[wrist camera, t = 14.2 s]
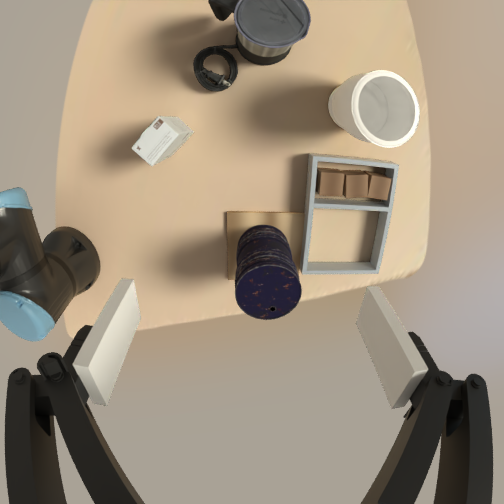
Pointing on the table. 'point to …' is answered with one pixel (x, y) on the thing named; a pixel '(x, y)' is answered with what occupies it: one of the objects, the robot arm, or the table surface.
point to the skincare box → (162, 139)
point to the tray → (313, 202)
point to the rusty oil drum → (266, 274)
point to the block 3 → (378, 185)
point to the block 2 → (355, 184)
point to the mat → (283, 221)
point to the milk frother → (255, 35)
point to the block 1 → (329, 182)
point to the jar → (376, 108)
